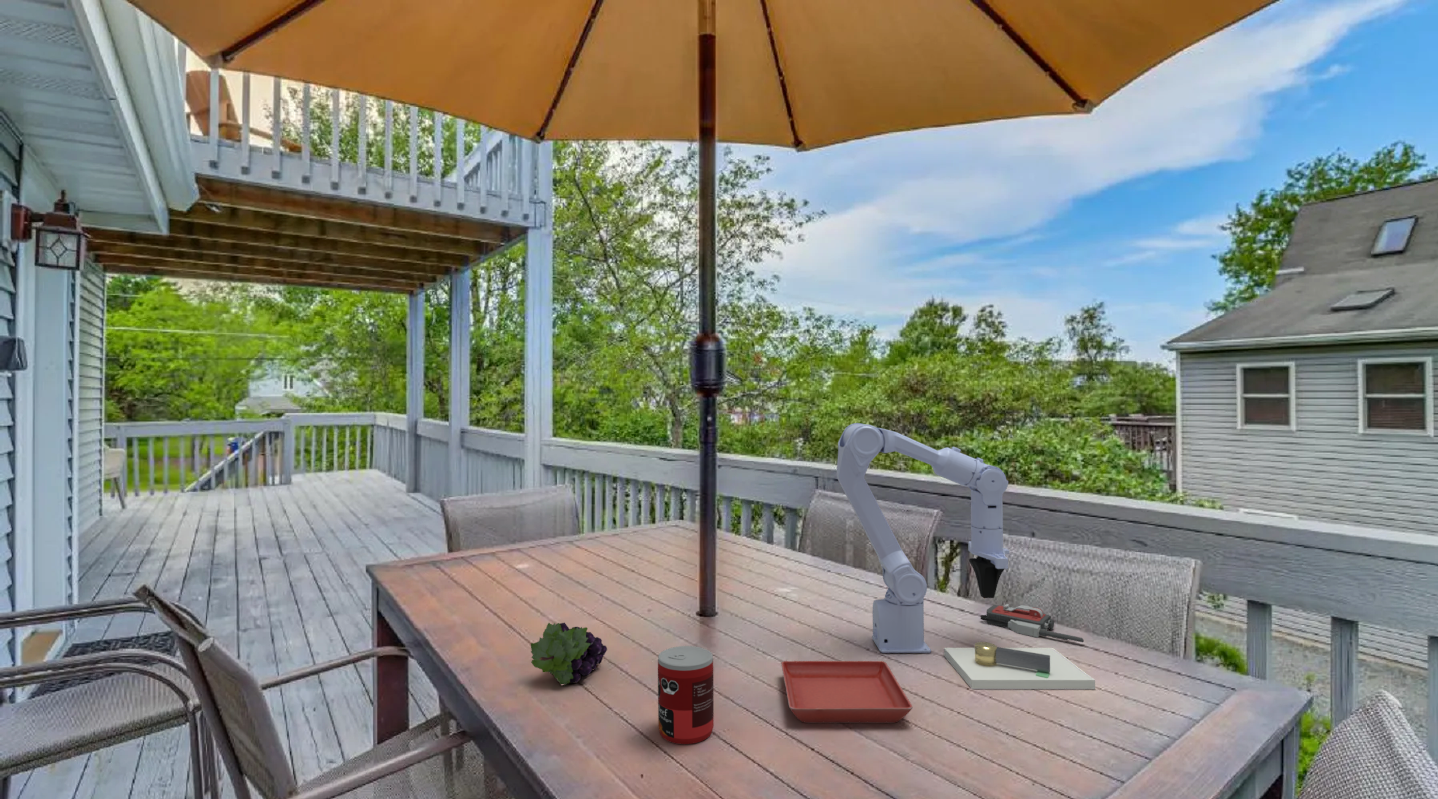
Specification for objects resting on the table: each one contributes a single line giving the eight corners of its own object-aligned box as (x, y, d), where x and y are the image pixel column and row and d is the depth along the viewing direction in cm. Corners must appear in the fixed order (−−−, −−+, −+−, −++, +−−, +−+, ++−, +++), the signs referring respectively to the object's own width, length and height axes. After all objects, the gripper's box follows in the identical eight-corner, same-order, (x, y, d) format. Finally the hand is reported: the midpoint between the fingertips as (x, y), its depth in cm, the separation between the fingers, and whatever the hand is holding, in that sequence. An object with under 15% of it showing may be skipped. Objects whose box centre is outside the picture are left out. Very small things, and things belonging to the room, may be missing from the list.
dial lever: (973, 662, 113) (973, 647, 113) (976, 655, 116) (976, 640, 116) (1049, 676, 107) (1049, 659, 107) (1050, 668, 110) (1050, 652, 110)
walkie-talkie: (976, 626, 138) (1082, 649, 124) (976, 605, 138) (1082, 626, 124) (990, 616, 144) (1092, 636, 131) (990, 596, 144) (1092, 614, 131)
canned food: (658, 720, 97) (657, 646, 97) (711, 717, 98) (711, 644, 98) (657, 747, 90) (657, 667, 90) (715, 744, 90) (715, 664, 90)
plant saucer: (780, 678, 112) (780, 659, 113) (885, 678, 112) (885, 659, 112) (789, 731, 94) (789, 708, 94) (914, 731, 94) (914, 708, 94)
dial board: (971, 689, 107) (971, 678, 107) (944, 655, 121) (944, 646, 121) (1095, 689, 106) (1095, 678, 106) (1053, 655, 120) (1052, 646, 120)
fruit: (610, 686, 116) (558, 698, 103) (565, 665, 121) (510, 675, 108) (626, 628, 118) (576, 633, 105) (581, 610, 123) (528, 613, 110)
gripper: (1024, 534, 118) (1025, 608, 118) (992, 519, 133) (993, 586, 133) (985, 534, 119) (986, 608, 118) (957, 519, 133) (958, 586, 133)
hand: (987, 597), depth 126 cm, fingers closed
